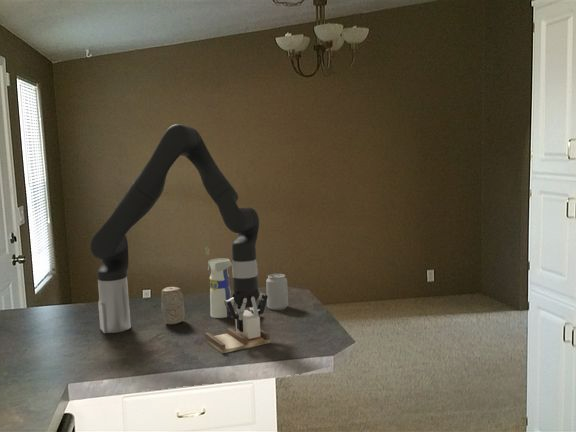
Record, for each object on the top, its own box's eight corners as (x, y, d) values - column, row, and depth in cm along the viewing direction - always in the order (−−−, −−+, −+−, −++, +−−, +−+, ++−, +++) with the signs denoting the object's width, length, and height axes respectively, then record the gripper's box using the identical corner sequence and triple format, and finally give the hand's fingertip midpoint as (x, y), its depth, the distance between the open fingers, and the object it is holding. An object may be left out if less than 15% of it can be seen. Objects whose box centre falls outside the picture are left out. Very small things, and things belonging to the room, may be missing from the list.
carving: (161, 321, 200) (159, 287, 199) (183, 318, 203) (181, 284, 201) (163, 327, 194) (161, 291, 193) (186, 324, 197) (184, 289, 195)
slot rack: (221, 353, 168) (221, 345, 167) (205, 340, 179) (204, 333, 179) (270, 342, 175) (270, 334, 175) (251, 331, 186) (251, 323, 186)
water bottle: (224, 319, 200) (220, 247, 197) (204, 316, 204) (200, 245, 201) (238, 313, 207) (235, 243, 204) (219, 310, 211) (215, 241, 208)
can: (265, 306, 214) (263, 274, 213) (284, 303, 216) (283, 271, 215) (270, 311, 207) (269, 278, 205) (290, 309, 209) (289, 276, 208)
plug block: (235, 331, 181) (235, 312, 181) (247, 328, 183) (246, 309, 183) (248, 339, 174) (247, 319, 173) (260, 336, 176) (259, 317, 175)
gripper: (260, 268, 183) (263, 322, 185) (218, 275, 176) (221, 330, 178) (271, 273, 176) (274, 328, 178) (228, 280, 170) (231, 337, 172)
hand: (247, 329), depth 178 cm, fingers closed on plug block, 3 cm apart
